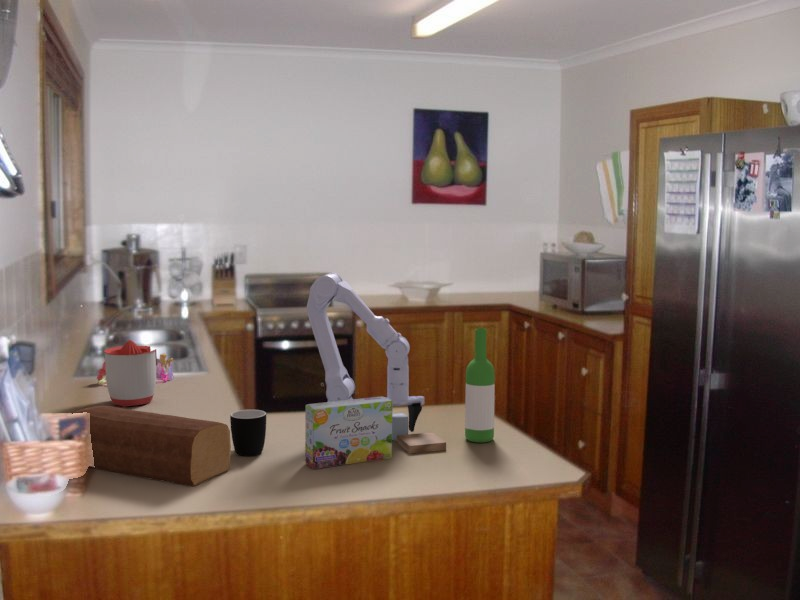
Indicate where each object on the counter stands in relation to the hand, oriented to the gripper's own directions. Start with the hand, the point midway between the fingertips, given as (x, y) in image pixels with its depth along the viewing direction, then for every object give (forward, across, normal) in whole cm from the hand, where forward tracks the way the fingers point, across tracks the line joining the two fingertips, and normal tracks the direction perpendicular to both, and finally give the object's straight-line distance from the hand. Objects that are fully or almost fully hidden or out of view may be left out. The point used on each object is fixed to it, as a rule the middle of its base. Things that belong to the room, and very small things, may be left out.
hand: (397, 432), depth 233 cm
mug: (+2, -41, 0) cm, 41 cm away
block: (+2, 0, 0) cm, 2 cm away
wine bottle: (+2, +20, -9) cm, 22 cm away
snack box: (+2, -18, -16) cm, 24 cm away
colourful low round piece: (+2, -64, +98) cm, 117 cm away
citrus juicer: (+2, -66, +64) cm, 92 cm away
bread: (+2, -65, -5) cm, 65 cm away
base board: (+1, +3, -10) cm, 11 cm away
